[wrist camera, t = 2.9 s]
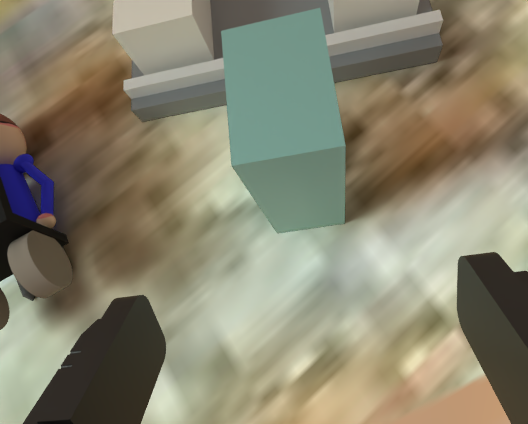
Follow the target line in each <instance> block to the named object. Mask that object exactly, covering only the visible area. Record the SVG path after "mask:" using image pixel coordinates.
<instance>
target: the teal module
mask: <svg viewBox="0 0 528 424" xmlns="http://www.w3.org/2000/svg"><path fill="white" fill-rule="evenodd" d="M221 36H222V49H223V62H224V75H225V87H226V100H227V113H228V126H229V139H230V152H231V164H232V167H233V169H234V170H235V172H236V173H237V175H238V176H239V178H240V179H241V181H242V182H243V183H244V185H245V186H246V188H247V189H248V191H249V192H250V194H251V195H252V197H253V198H254V200H255V201H256V203H257V204H258V206H259V207H260V209H261V210H262V212H263V213H264V215H265V216H266V218H267V219H268V221H269V222H270V223H271V225H272V226H273V228H274V229H275V231H276V232H277V233H284V232H290V231H297V230H304V229H311V228H318V227H325V226H332V225H338V224H345V152H346V145H345V140H344V134H343V129H342V124H341V118H340V113H339V107H338V102H337V96H336V91H335V86H334V80H333V75H332V69H331V64H330V58H329V53H328V47H327V42H326V37H325V31H324V26H323V20H322V15H321V9H320V8H317V9H312V10H308V11H304V12H300V13H295V14H291V15H287V16H283V17H278V18H274V19H270V20H266V21H261V22H257V23H253V24H248V25H244V26H240V27H236V28H231V29H227V30H223V31H221Z"/></svg>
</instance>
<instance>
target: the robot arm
mask: <svg viewBox="0 0 528 424" xmlns="http://www.w3.org/2000/svg"><path fill="white" fill-rule="evenodd" d="M457 312H458V318H459V322H460V325H461V328H462V330H463V332H464V334H465V336H466V338H467V340H468V342H469V344H470V346H471V348H472V350H473V352H474V354H475V355H476V357H477V359H478V361H479V363H480V365H481V367H482V369H483V371H484V373H485V375H486V376H487V378H488V380H489V382H490V384H491V386H492V388H493V390H494V392H495V394H496V396H497V397H498V399H499V401H500V403H501V405H502V407H503V409H504V411H505V413H506V415H507V416H508V418H509V420H510V422H511V424H528V272H527V271H520V272H513V271H512V270H511V268H510V267H509V266H508V265H507V264H506V262H505V261H504V260H503V259H502V258H501V257H500V255H499V254H497V253H495V252H491V253H483V254H475V255H467V256H461V257H460V258H459V260H458V280H457ZM70 352H71V353H70V355H68V356H67V357H66V359H65V360H64V362H63V363H62V365H61V369H58V371H57V372H56V374H55V375H54V377H53V378H52V380H51V381H50V383H49V384H48V386H47V388H46V389H45V391H44V392H43V394H42V395H41V397H40V398H39V400H38V401H37V403H36V404H35V406H34V407H33V409H32V410H31V412H30V413H29V415H28V416H27V418H26V419H25V421H24V423H23V424H141V421H142V418H143V416H144V413H145V410H146V408H147V405H148V402H149V400H150V397H151V394H152V391H153V389H154V386H155V383H156V381H157V378H158V375H159V373H160V370H161V367H162V365H163V362H164V359H165V354H166V342H165V337H164V335H163V332H162V330H161V328H160V325H159V323H158V321H157V318H156V316H155V314H154V312H153V309H152V307H151V305H150V302H149V300H148V299H147V297H146V296H144V295H138V296H130V297H122V298H116V299H114V300H113V301H112V302H111V304H110V305H109V307H108V309H107V310H106V312H105V313H104V315H103V317H102V318H101V319H98V320H97V321H95V322H94V323H93V324H92V325H91V326H90V327H89V328H88V329H87V330H86V331H85V332H84V333H82V334H81V336H80V337H79V339H78V340H77V342H76V343H75V345H74V346H73V348H72V349H71V351H70Z"/></svg>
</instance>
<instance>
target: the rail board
mask: <svg viewBox="0 0 528 424" xmlns="http://www.w3.org/2000/svg"><path fill="white" fill-rule="evenodd" d="M210 5H211V19H212V34H213V48H214V60H212V61H207V62H203V63H198V64H194V65H189V66H185V67H180V68H176V69H171V70H167V71H162V72H158V73H154V74H149V75H145V76H144V74H143V73H142V72H141V71H140V69H139V68H138V67H137V65H136V64H135V63H134V62H133V60H132V78H131V79H127V80H124V91H125V93H126V94H127V95H128V96H129V97H130V98H131V111H132V112H133V113H134V114H135V115H136V116H137V117H138V118H139V119H140V120H141V121H142V122H144V121H148V120H153V119H158V118H163V117H168V116H173V115H178V114H183V113H188V112H193V111H198V110H203V109H207V108H212V107H217V106H222V105H227V100H226V87H225V75H224V62H223V49H222V36H221V31H223V30H227V29H231V28H236V27H240V26H244V25H248V24H253V23H257V22H261V21H266V20H270V19H274V18H278V17H283V16H287V15H291V14H295V13H300V12H304V11H308V10H312V9H317V8H320V9H321V15H322V20H323V26H324V31H325V37H326V42H327V47H328V53H329V58H330V64H331V69H332V75H333V80H334V83H335V82H340V81H345V80H350V79H355V78H360V77H365V76H370V75H375V74H379V73H384V72H389V71H394V70H399V69H404V68H409V67H414V66H419V65H424V64H429V63H434V62H437V61H438V58H439V55H440V52H441V49H442V46H443V44H442V41H441V37H440V34H439V32H440V29H441V26H442V23H443V18H442V15H441V12H440V10H435V11H432V7H431V4H430V1H429V0H419V5H418V9H417V14H416V15H413V16H409V17H404V18H400V19H395V20H391V21H386V22H382V23H377V24H373V25H368V26H364V27H359V28H355V29H350V30H346V31H341V32H337V33H334V29H333V24H332V19H331V13H330V8H329V3H328V0H210Z"/></svg>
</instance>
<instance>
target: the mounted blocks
mask: <svg viewBox="0 0 528 424" xmlns="http://www.w3.org/2000/svg"><path fill="white" fill-rule="evenodd" d="M328 3H329V8H330V13H331V19H332V24H333V29H334V33H337V32H341V31H346V30H350V29H355V28H359V27H364V26H368V25H373V24H377V23H382V22H386V21H391V20H395V19H400V18H404V17H409V16H413V15H416V14H417V9H418V5H419V0H328ZM112 35H113V36H114V37H115V38H116V40H117V41H118V42H119V44H120V45H121V46H122V47H123V49H124V50H125V51H126V53H127V54H128V55H129V56H130V58H131V59H132V60H133V62H134V63H135V64H136V65H137V67H138V68H139V69H140V71H141V72H142V73H143V74H144V76H145V75H149V74H154V73H158V72H162V71H167V70H171V69H176V68H180V67H185V66H189V65H194V64H198V63H203V62H207V61H212V60H214V48H213V34H212V19H211V5H210V0H113V28H112Z"/></svg>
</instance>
